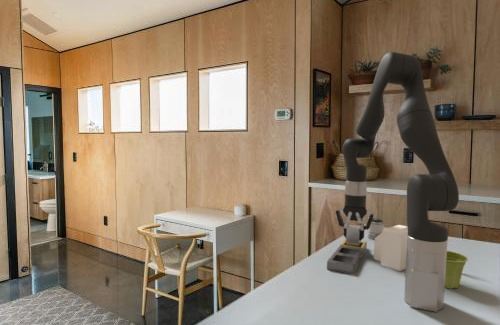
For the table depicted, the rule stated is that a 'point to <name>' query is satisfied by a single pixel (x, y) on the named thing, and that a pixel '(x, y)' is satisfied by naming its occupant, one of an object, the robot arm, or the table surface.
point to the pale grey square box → (353, 236)
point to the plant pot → (454, 269)
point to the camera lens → (375, 228)
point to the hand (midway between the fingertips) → (353, 238)
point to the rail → (346, 258)
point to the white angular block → (392, 247)
